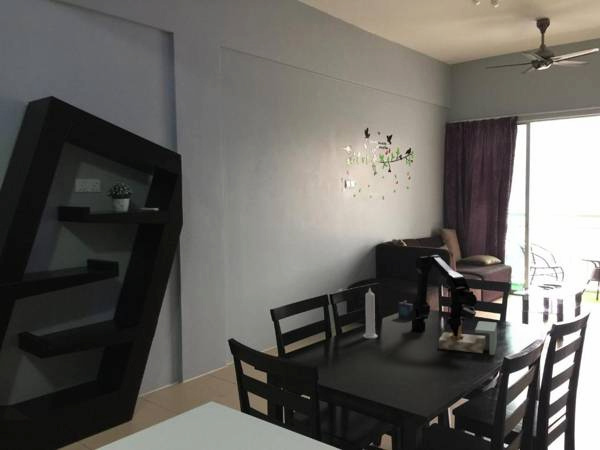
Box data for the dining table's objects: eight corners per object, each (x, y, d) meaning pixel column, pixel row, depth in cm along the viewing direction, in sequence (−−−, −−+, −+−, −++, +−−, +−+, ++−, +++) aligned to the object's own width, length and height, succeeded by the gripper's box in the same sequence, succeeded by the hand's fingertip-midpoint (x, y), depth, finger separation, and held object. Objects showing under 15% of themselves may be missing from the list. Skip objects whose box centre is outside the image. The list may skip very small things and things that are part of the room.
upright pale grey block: (475, 353, 223) (475, 329, 222) (478, 343, 237) (478, 321, 237) (494, 355, 220) (494, 331, 219) (496, 344, 234) (496, 322, 233)
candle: (377, 339, 248) (376, 289, 246) (362, 338, 249) (362, 288, 248) (377, 335, 254) (377, 286, 253) (363, 334, 256) (363, 286, 254)
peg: (451, 342, 233) (451, 321, 232) (452, 340, 237) (452, 319, 236) (460, 343, 231) (460, 322, 231) (461, 340, 235) (461, 320, 234)
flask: (413, 319, 284) (413, 301, 283) (410, 320, 282) (410, 301, 281) (400, 317, 291) (399, 299, 290) (397, 318, 289) (396, 299, 288)
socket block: (439, 348, 231) (438, 339, 230) (443, 340, 243) (443, 332, 243) (482, 353, 223) (482, 344, 222) (485, 344, 235) (485, 336, 235)
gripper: (472, 308, 221) (472, 342, 222) (476, 299, 238) (476, 331, 239) (446, 306, 226) (446, 340, 227) (452, 298, 243) (452, 329, 243)
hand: (456, 335), depth 234 cm, fingers closed on peg, 4 cm apart
